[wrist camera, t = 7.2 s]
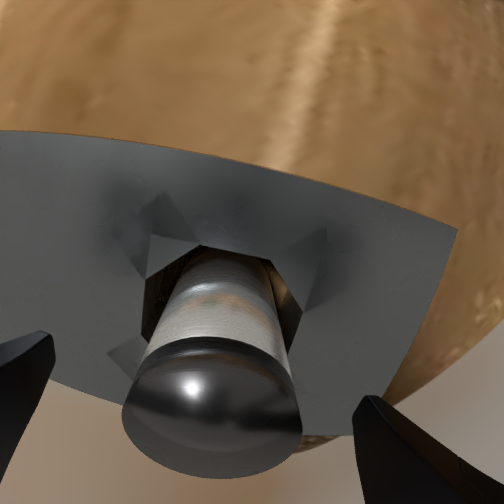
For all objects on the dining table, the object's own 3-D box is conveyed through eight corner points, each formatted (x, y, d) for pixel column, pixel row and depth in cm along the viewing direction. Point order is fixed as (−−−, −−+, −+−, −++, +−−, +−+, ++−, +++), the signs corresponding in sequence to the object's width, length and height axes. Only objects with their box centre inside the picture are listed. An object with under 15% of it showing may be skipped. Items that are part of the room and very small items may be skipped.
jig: (419, 213, 13) (458, 229, 10) (342, 398, 16) (356, 435, 13) (14, 130, 10) (-26, 130, 8) (14, 322, 14) (-13, 348, 11)
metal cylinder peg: (280, 256, 13) (330, 386, 5) (258, 335, 14) (273, 484, 6) (187, 236, 13) (119, 349, 5) (174, 318, 14) (126, 460, 6)
